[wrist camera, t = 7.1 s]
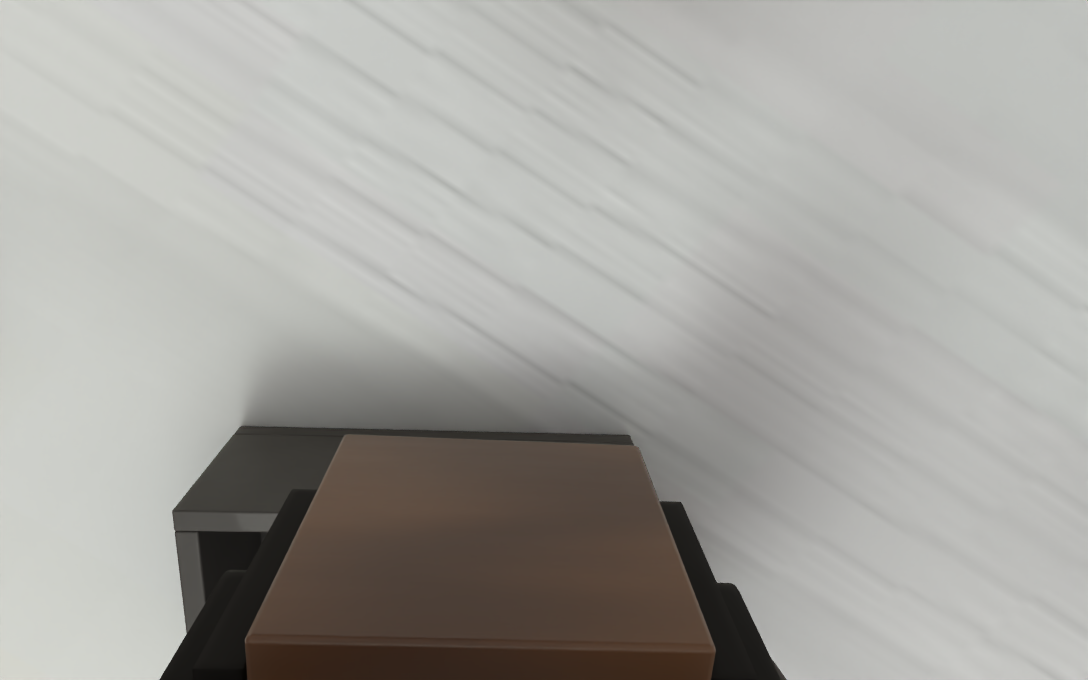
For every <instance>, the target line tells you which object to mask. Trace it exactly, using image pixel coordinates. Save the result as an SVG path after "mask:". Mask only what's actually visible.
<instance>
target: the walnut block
mask: <svg viewBox="0 0 1088 680" xmlns="http://www.w3.org/2000/svg"><path fill="white" fill-rule="evenodd" d="M715 652H716V649H715V646H714V643H713V641H712V638H711V635H710V633H709V630H708V627H707V625H706V622H705V620H704V617H703V614H702V612H701V609H700V607H699V604H698V601H697V599H696V596H695V593H694V591H693V588H692V586H691V583H690V580H689V578H688V575H687V573H686V570H685V567H684V565H683V562H682V559H681V557H680V554H679V552H678V549H677V546H676V544H675V541H674V539H673V536H672V533H671V531H670V528H669V525H668V523H667V520H666V518H665V515H664V512H663V510H662V507H661V505H660V502H659V499H658V497H657V494H656V491H655V489H654V486H653V484H652V481H651V478H650V476H649V473H648V471H647V468H646V465H645V463H644V460H643V457H642V455H641V452H640V450H639V447H637V446H630V445H604V444H579V443H554V442H529V441H503V440H478V439H453V438H428V437H402V436H377V435H352V434H348V435H345V436H344V437H343V439H342V441H341V443H340V445H339V447H338V449H337V451H336V453H335V455H334V457H333V459H332V461H331V463H330V465H329V467H328V470H327V472H326V474H325V476H324V478H323V480H322V482H321V484H320V486H319V488H318V490H317V492H316V494H315V496H314V498H313V500H312V502H311V504H310V506H309V509H308V511H307V513H306V515H305V517H304V519H303V521H302V523H301V525H300V527H299V529H298V531H297V533H296V535H295V537H294V539H293V541H292V543H291V546H290V548H289V550H288V552H287V554H286V556H285V558H284V560H283V562H282V564H281V566H280V568H279V570H278V572H277V574H276V576H275V578H274V580H273V582H272V585H271V587H270V589H269V591H268V593H267V595H266V597H265V599H264V601H263V603H262V605H261V607H260V609H259V611H258V613H257V615H256V617H255V619H254V621H253V624H252V626H251V628H250V630H249V632H248V634H247V636H246V638H245V653H246V667H247V680H711V676H712V670H713V664H714V658H715Z"/></svg>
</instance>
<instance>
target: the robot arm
mask: <svg viewBox="0 0 1088 680" xmlns="http://www.w3.org/2000/svg"><path fill="white" fill-rule="evenodd" d="M317 490H318V489H292V490H291V492H290V493H289V495H288V497H287V499H286V500H285V502H284V504H283V506H282V508H281V509H280V511H279V513H278V515H277V517H276V518H275V520H274V522H273V524H272V526H271V527H270V529H269V531H268V533H267V535H266V537H265V538H264V540H263V542H262V544H261V546H260V547H259V549H258V551H257V553H256V555H255V556H254V558H253V560H252V562H251V564H250V565H249V567H248V569H247V570H228V571H226V572H225V573H224V574H223V576H222V577H221V578H220V580H219V581H218V583H217V585H216V586H215V588H214V590H213V591H212V593H211V595H210V596H209V598H208V600H207V601H206V603H205V605H204V606H203V608H202V610H201V611H200V613H199V615H198V616H197V618H196V620H195V621H194V623H193V625H192V626H191V628H190V630H189V631H188V633H187V635H186V636H185V638H184V640H183V641H182V643H181V645H180V646H179V648H178V650H177V651H176V653H175V655H174V656H173V658H172V660H171V661H170V663H169V665H168V666H167V668H166V670H165V671H164V673H163V675H162V676H161V678H160V680H247V667H246V653H245V638H246V636H247V634H248V632H249V630H250V628H251V626H252V624H253V621H254V619H255V617H256V615H257V613H258V611H259V609H260V607H261V605H262V603H263V601H264V599H265V597H266V595H267V593H268V591H269V589H270V587H271V585H272V582H273V580H274V578H275V576H276V574H277V572H278V570H279V568H280V566H281V564H282V562H283V560H284V558H285V556H286V554H287V552H288V550H289V548H290V546H291V543H292V541H293V539H294V537H295V535H296V533H297V531H298V529H299V527H300V525H301V523H302V521H303V519H304V517H305V515H306V513H307V511H308V509H309V506H310V504H311V502H312V500H313V498H314V496H315V494H316V492H317ZM659 502H660V505H661V507H662V510H663V512H664V515H665V518H666V520H667V523H668V525H669V528H670V531H671V533H672V536H673V539H674V541H675V544H676V546H677V549H678V552H679V554H680V557H681V559H682V562H683V565H684V567H685V570H686V573H687V575H688V578H689V580H690V583H691V586H692V588H693V591H694V593H695V596H696V599H697V601H698V604H699V607H700V609H701V612H702V614H703V617H704V620H705V622H706V625H707V627H708V630H709V633H710V635H711V638H712V641H713V643H714V646H715V649H716V652H715V658H714V664H713V670H712V676H711V680H781V679H780V677H779V674H778V672H777V670H776V668H775V666H774V664H773V662H772V660H771V658H770V655H769V653H768V651H767V649H766V647H765V645H764V643H763V641H762V639H761V636H760V634H759V632H758V630H757V628H756V626H755V624H754V622H753V620H752V617H751V615H750V613H749V611H748V609H747V607H746V605H745V603H744V601H743V598H742V596H741V594H740V592H739V590H738V589H737V587H736V586H735V585H733V584H731V583H716V580H715V578H714V576H713V573H712V571H711V569H710V566H709V564H708V562H707V560H706V557H705V555H704V553H703V550H702V548H701V546H700V543H699V541H698V539H697V537H696V534H695V532H694V530H693V527H692V525H691V523H690V521H689V518H688V516H687V514H686V511H685V509H684V507H683V505H682V503H681V502H664V501H659Z"/></svg>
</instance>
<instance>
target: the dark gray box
mask: <svg viewBox="0 0 1088 680" xmlns="http://www.w3.org/2000/svg"><path fill="white" fill-rule="evenodd" d="M348 434H352V435H377V436H402V437H428V438H453V439H478V440H503V441H529V442H554V443H579V444H604V445H630V446H634V444H633V442H632V440H631V437H630V436H629V435H592V434H548V433H504V432H460V431H416V430H372V429H328V428H284V427H240V428H239V429H238V430H237V431H236V433H235V434H234V435H233V436H232V437H231V439H230V440H229V441H228V442H227V444H226V445H225V446H224V447H223V449H222V450H221V451H220V452H219V454H218V455H217V456H216V457H215V459H214V460H213V461H212V462H211V464H210V465H209V466H208V467H207V468H206V470H205V471H204V472H203V473H202V475H201V476H200V477H199V478H198V480H197V481H196V482H195V483H194V485H193V486H192V487H191V488H190V490H189V491H188V492H187V493H186V495H185V496H184V497H183V498H182V500H181V501H180V502H179V503H178V505H177V506H176V507H175V508H174V510H173V512H172V513H173V521H174V530H175V531H176V532H175V537H176V546H177V554H178V563H179V571H180V580H181V588H182V597H183V605H184V614H185V623H186V631H187V633H188V631H189V630H190V628H191V626H192V625H193V623H194V621H195V620H196V618H197V616H198V615H199V613H200V611H201V610H202V608H203V606H204V605H205V603H206V601H207V600H208V598H209V596H210V595H211V593H212V591H213V590H214V588H215V586H216V585H217V583H218V581H219V580H220V578H221V577H222V576H223V574H224V573H225V572H226V571H228V570H247V569H248V567H249V565H250V564H251V562H252V560H253V558H254V556H255V555H256V553H257V551H258V549H259V547H260V546H261V544H262V542H263V540H264V538H265V537H266V535H267V533H268V531H269V529H270V527H271V526H272V524H273V522H274V520H275V518H276V517H277V515H278V513H279V511H280V509H281V508H282V506H283V504H284V502H285V500H286V499H287V497H288V495H289V493H290V492H291V490H292V489H318V488H319V486H320V484H321V482H322V480H323V478H324V476H325V474H326V472H327V470H328V467H329V465H330V463H331V461H332V459H333V457H334V455H335V453H336V451H337V449H338V447H339V445H340V443H341V441H342V439H343V437H344V436H345V435H348Z"/></svg>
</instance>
